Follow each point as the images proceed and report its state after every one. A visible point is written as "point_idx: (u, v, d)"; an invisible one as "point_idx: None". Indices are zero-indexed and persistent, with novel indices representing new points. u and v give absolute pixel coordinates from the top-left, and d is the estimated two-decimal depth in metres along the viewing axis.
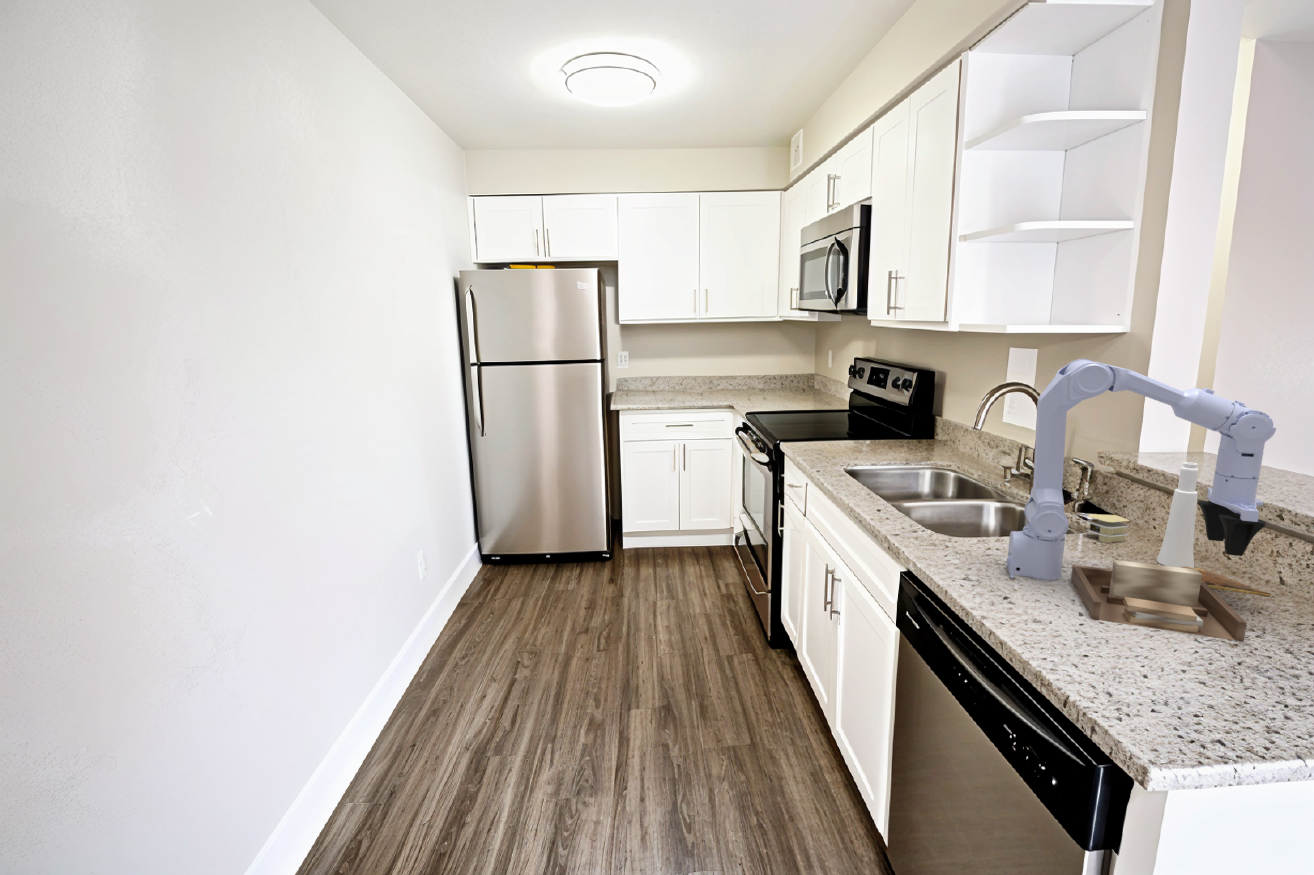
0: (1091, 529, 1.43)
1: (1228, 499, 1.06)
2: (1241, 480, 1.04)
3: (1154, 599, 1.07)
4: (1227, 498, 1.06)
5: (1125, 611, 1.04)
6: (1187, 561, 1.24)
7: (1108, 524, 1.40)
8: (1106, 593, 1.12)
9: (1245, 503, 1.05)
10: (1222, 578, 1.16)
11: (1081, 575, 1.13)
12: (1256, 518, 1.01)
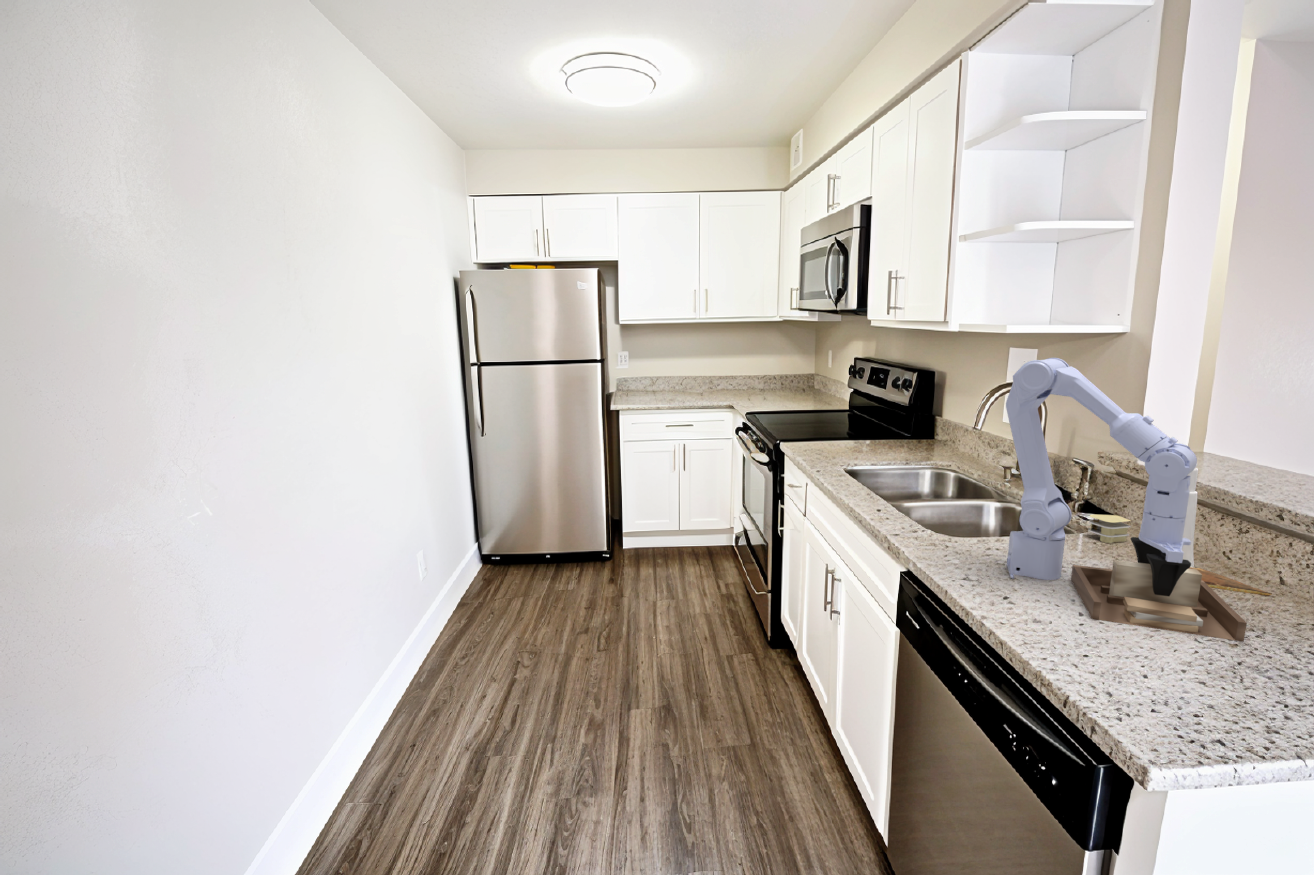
0: (1092, 529, 1.43)
1: (1155, 538, 1.04)
2: (1167, 519, 1.03)
3: (1154, 599, 1.07)
4: (1154, 537, 1.04)
5: (1125, 611, 1.04)
6: None
7: (1109, 525, 1.40)
8: (1106, 593, 1.12)
9: (1172, 543, 1.03)
10: (1222, 578, 1.16)
11: (1081, 575, 1.13)
12: (1180, 559, 0.99)
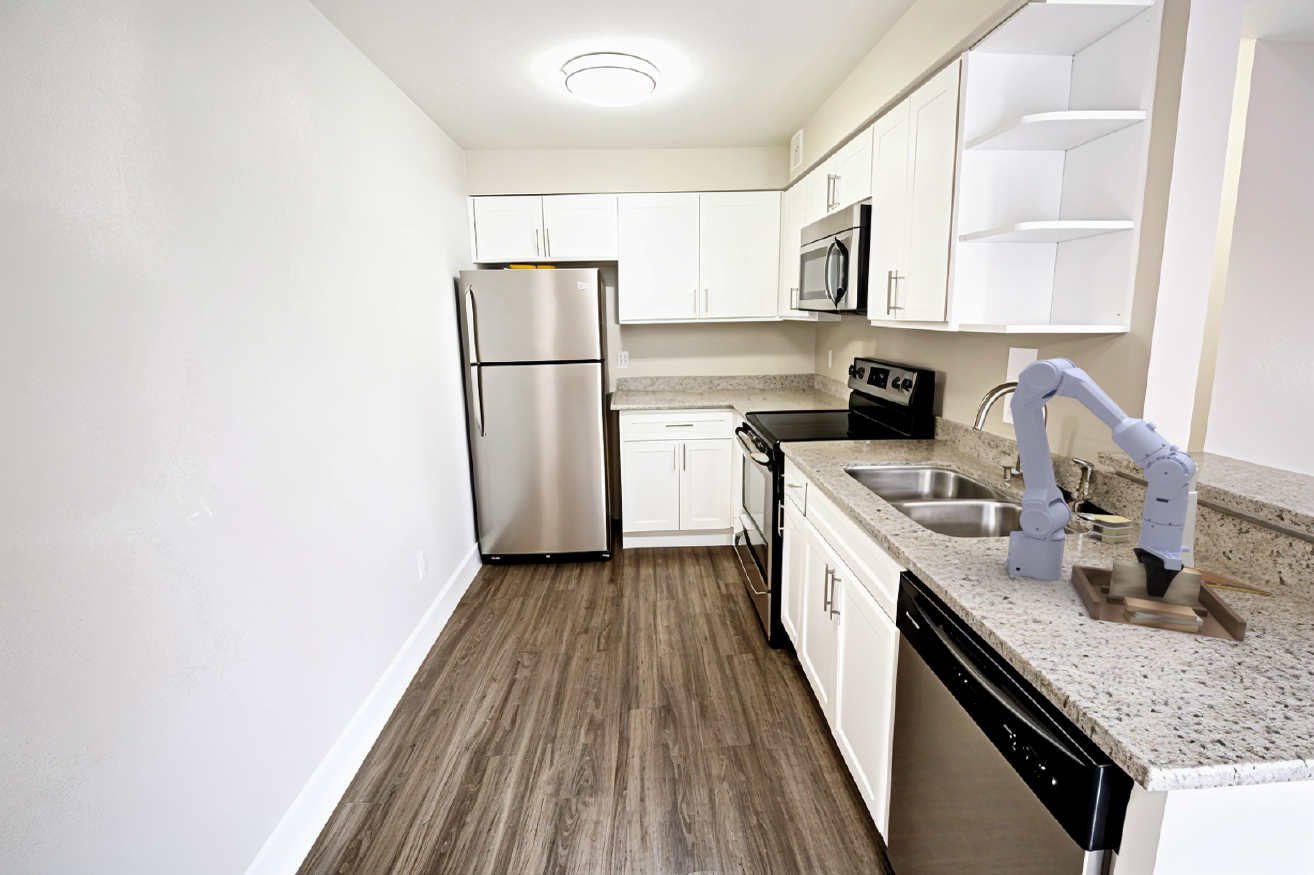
0: (1094, 530, 1.42)
1: (1154, 545, 1.04)
2: (1166, 527, 1.03)
3: (1154, 599, 1.07)
4: (1153, 544, 1.04)
5: (1125, 611, 1.04)
6: (1187, 561, 1.24)
7: (1111, 525, 1.40)
8: (1106, 593, 1.12)
9: (1171, 550, 1.03)
10: (1223, 578, 1.16)
11: (1081, 575, 1.13)
12: (1179, 567, 1.00)
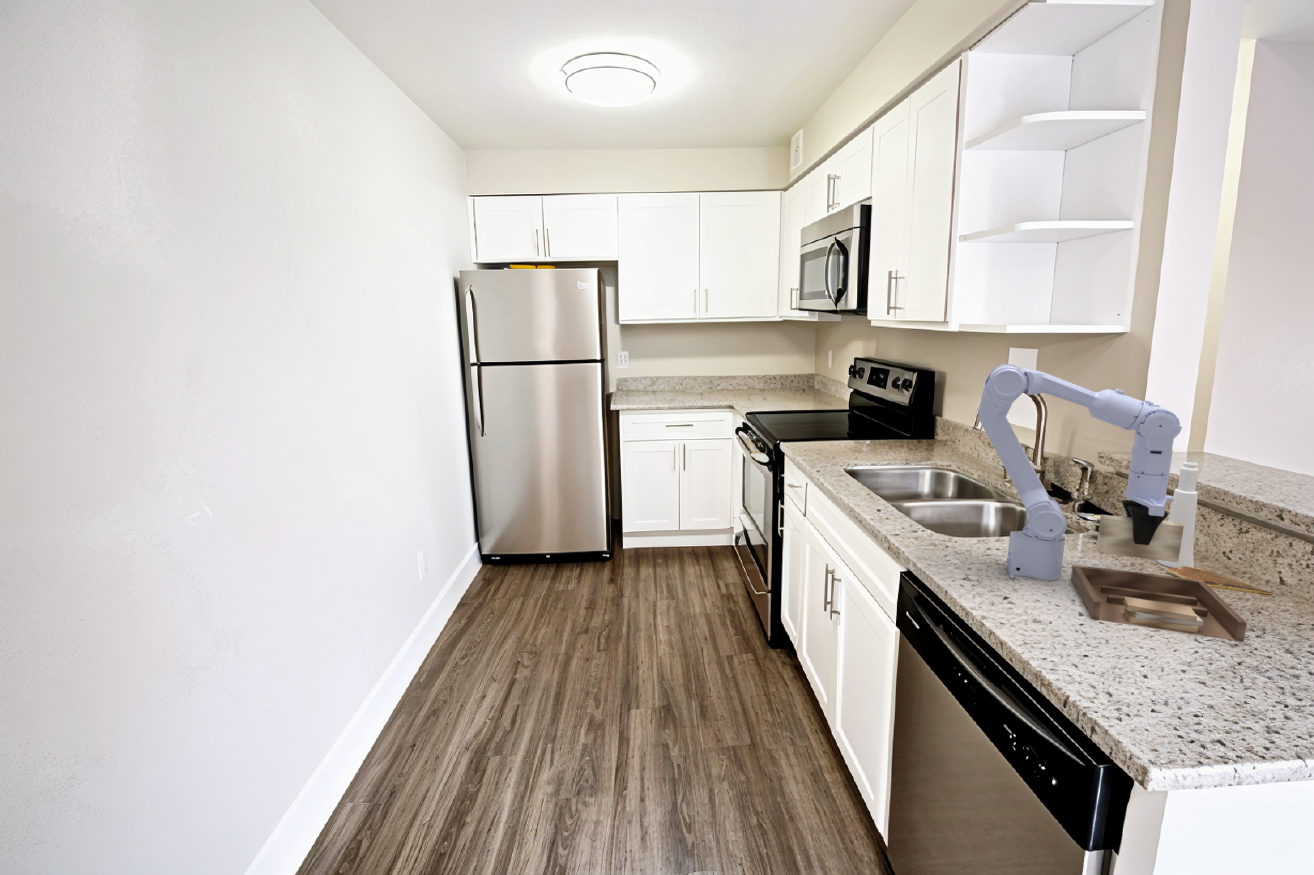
0: (1096, 530, 1.42)
1: (1140, 495, 1.10)
2: (1151, 476, 1.09)
3: (1138, 550, 1.13)
4: (1139, 494, 1.10)
5: (1125, 611, 1.04)
6: (1187, 561, 1.24)
7: None
8: (1106, 593, 1.12)
9: (1155, 499, 1.09)
10: (1223, 577, 1.17)
11: (1081, 575, 1.13)
12: (1162, 513, 1.05)
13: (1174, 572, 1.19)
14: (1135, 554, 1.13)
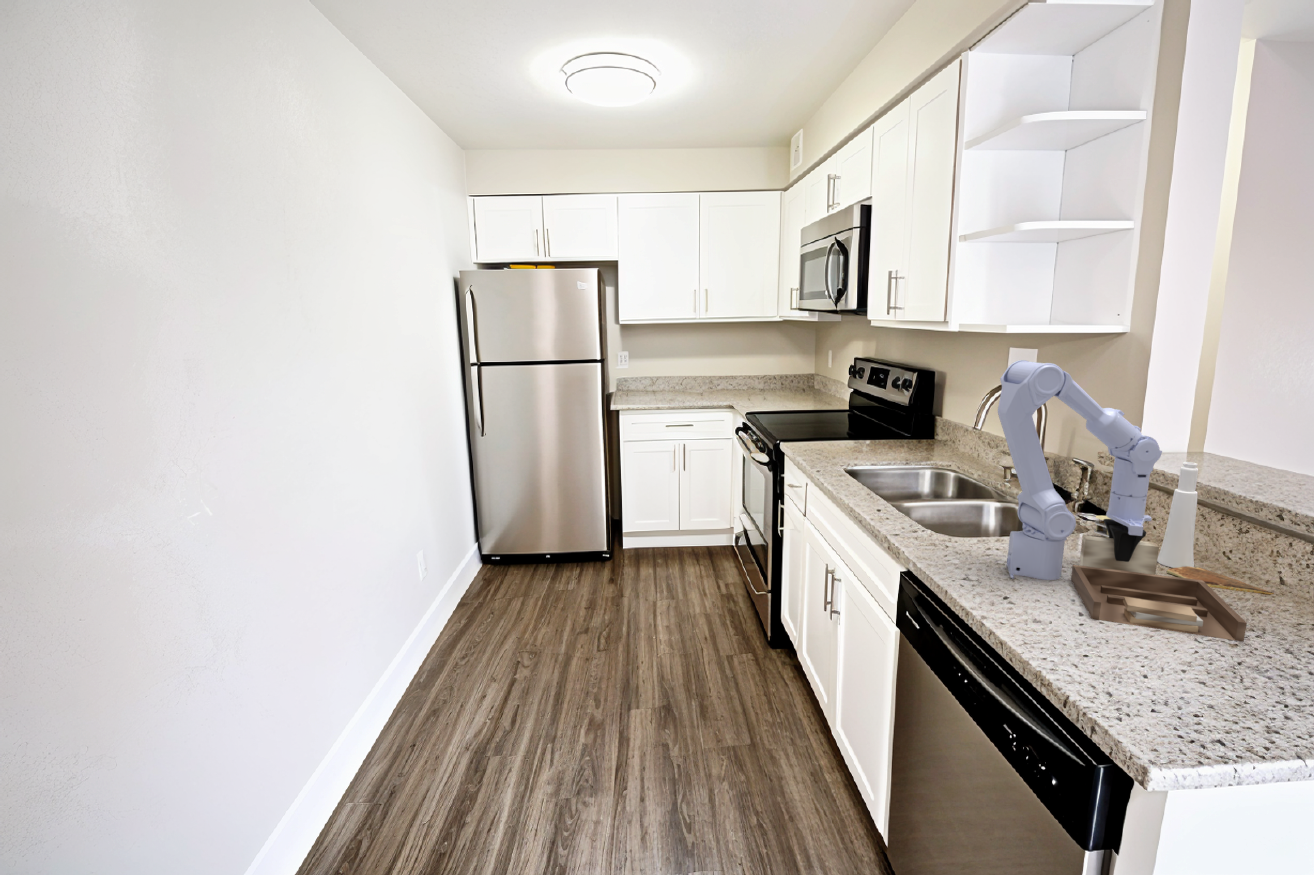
0: (1098, 530, 1.42)
1: (1120, 515, 1.18)
2: (1130, 498, 1.16)
3: (1118, 569, 1.21)
4: (1119, 514, 1.18)
5: (1125, 611, 1.04)
6: (1187, 561, 1.24)
7: None
8: (1106, 593, 1.12)
9: (1134, 519, 1.17)
10: (1224, 577, 1.17)
11: (1081, 575, 1.13)
12: (1141, 533, 1.13)
13: (1175, 572, 1.19)
14: None
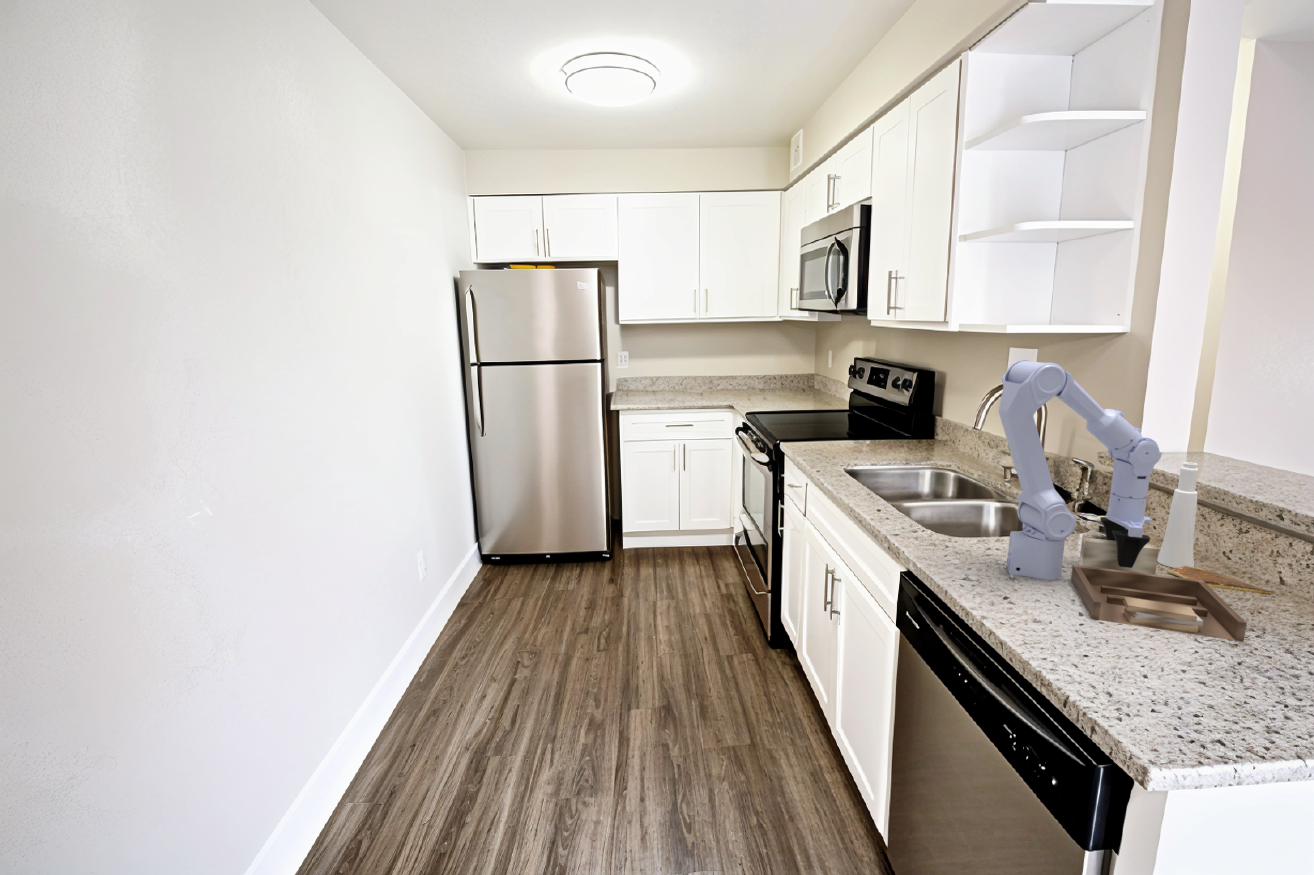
0: (1100, 531, 1.42)
1: (1120, 516, 1.18)
2: (1130, 500, 1.16)
3: None
4: (1119, 516, 1.18)
5: (1125, 611, 1.04)
6: (1187, 561, 1.24)
7: None
8: (1106, 593, 1.12)
9: (1134, 520, 1.17)
10: (1224, 577, 1.17)
11: (1081, 575, 1.13)
12: (1140, 534, 1.13)
13: (1175, 572, 1.19)
14: None
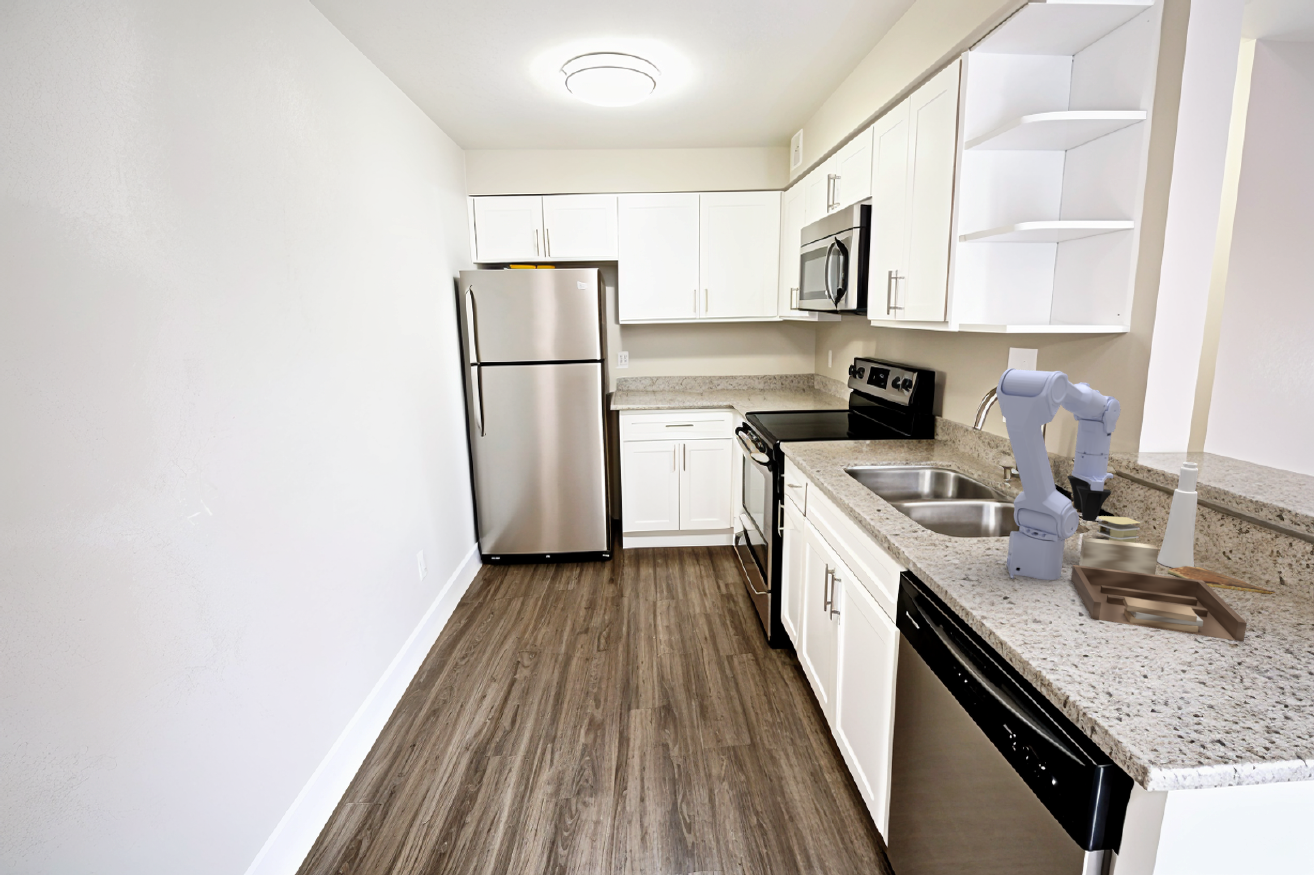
0: (1101, 531, 1.41)
1: (1084, 473, 1.24)
2: (1093, 456, 1.23)
3: None
4: (1083, 472, 1.24)
5: (1125, 611, 1.04)
6: (1187, 561, 1.24)
7: (1118, 526, 1.38)
8: (1106, 593, 1.12)
9: (1097, 476, 1.23)
10: (1224, 577, 1.17)
11: (1081, 575, 1.13)
12: (1102, 488, 1.19)
13: (1176, 572, 1.19)
14: None
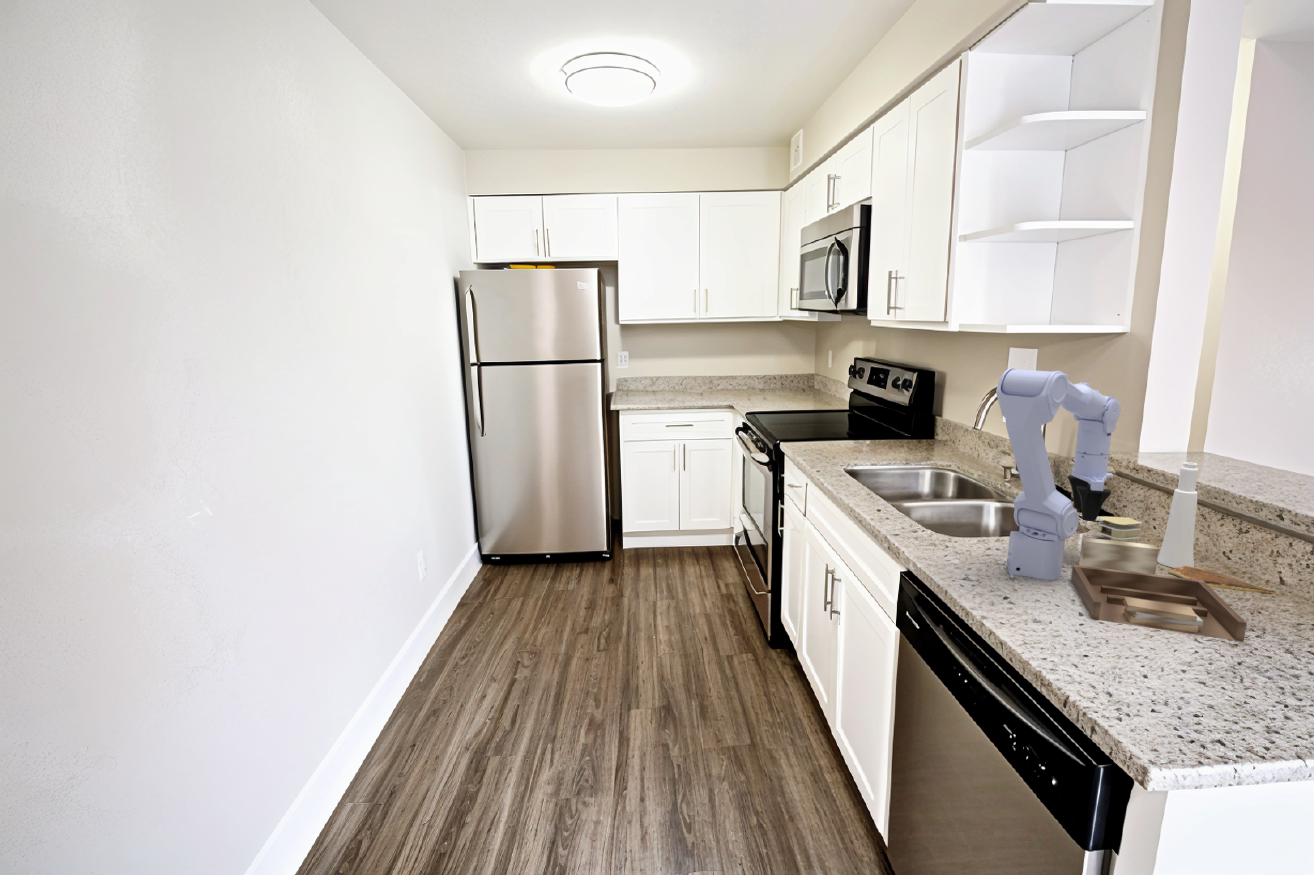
0: (1102, 531, 1.41)
1: (1084, 473, 1.24)
2: (1093, 456, 1.23)
3: None
4: (1083, 472, 1.24)
5: (1125, 611, 1.04)
6: (1187, 561, 1.24)
7: (1120, 527, 1.38)
8: (1106, 593, 1.12)
9: (1097, 476, 1.23)
10: (1225, 577, 1.17)
11: (1081, 575, 1.13)
12: (1102, 488, 1.19)
13: (1176, 572, 1.19)
14: None
